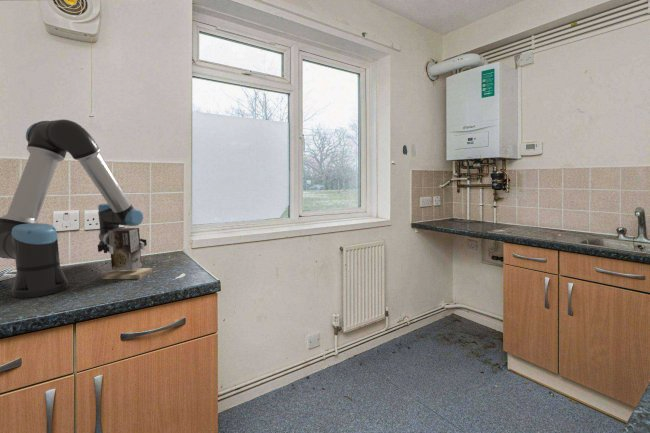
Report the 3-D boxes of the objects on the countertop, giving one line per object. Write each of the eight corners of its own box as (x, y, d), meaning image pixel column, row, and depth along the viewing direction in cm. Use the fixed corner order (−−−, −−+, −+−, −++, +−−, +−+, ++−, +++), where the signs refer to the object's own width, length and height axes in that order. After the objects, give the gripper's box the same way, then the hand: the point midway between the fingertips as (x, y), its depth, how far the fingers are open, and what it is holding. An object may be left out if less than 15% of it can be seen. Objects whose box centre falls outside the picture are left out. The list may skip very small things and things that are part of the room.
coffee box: (142, 266, 140) (140, 227, 138) (132, 270, 133) (129, 230, 131) (122, 265, 141) (119, 227, 139) (110, 269, 134) (107, 230, 132)
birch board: (101, 279, 132) (100, 275, 132) (116, 271, 142) (116, 268, 142) (139, 278, 133) (139, 275, 132) (152, 271, 143) (151, 268, 142)
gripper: (143, 245, 157) (159, 253, 141) (84, 252, 142) (94, 262, 126) (142, 229, 156) (158, 235, 140) (82, 235, 141) (92, 243, 125)
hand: (128, 248), depth 133 cm, fingers closed on coffee box, 10 cm apart
